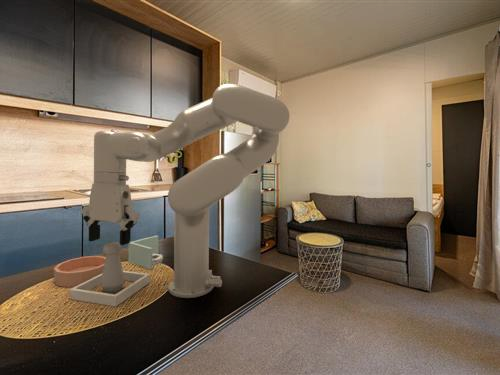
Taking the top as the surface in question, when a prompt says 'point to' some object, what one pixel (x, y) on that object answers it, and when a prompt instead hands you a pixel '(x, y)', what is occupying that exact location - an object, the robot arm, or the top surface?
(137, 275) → the rectangular frame
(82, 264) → the bowl
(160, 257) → the right angle wall
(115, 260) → the salt shaker
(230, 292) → the top surface
